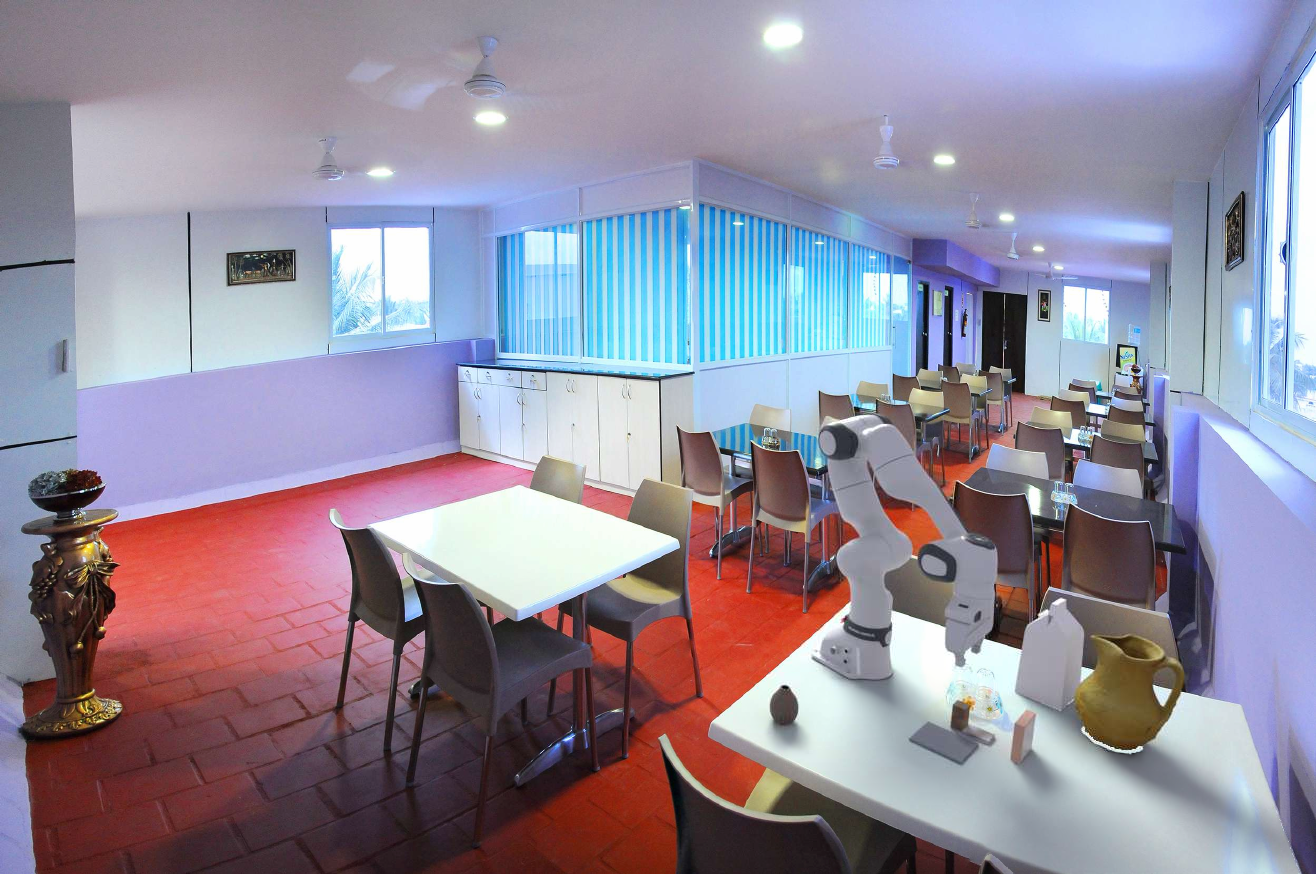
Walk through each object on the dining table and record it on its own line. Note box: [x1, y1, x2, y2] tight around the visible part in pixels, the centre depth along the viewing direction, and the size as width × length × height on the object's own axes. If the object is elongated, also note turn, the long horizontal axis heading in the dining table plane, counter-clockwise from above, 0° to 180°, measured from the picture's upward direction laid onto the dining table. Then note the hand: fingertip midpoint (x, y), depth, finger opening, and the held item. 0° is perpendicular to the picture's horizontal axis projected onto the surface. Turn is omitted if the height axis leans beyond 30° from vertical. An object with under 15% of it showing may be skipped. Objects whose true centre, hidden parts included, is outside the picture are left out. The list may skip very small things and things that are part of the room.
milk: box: [1014, 597, 1085, 711], centre depth 181 cm, size 12×12×26 cm
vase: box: [769, 684, 800, 726], centre depth 167 cm, size 7×7×9 cm
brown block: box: [950, 699, 995, 745], centre depth 164 cm, size 9×4×6 cm, turn 45°
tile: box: [1009, 709, 1037, 764], centre depth 156 cm, size 2×8×9 cm, turn 135°
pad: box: [908, 721, 979, 765], centre depth 160 cm, size 12×10×1 cm
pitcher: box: [1073, 633, 1185, 750], centre depth 161 cm, size 17×19×25 cm
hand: (967, 658), depth 164 cm, fingers open, 8 cm apart
